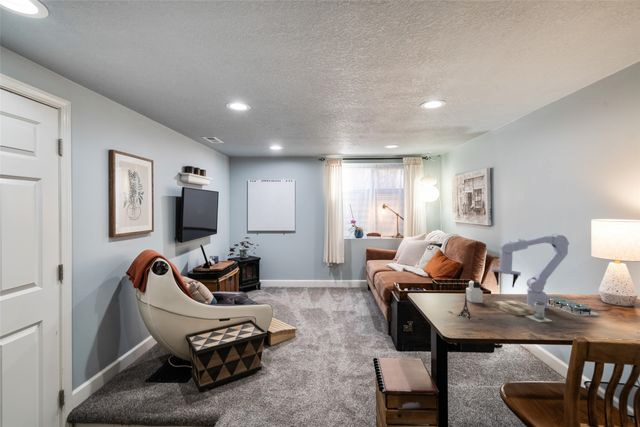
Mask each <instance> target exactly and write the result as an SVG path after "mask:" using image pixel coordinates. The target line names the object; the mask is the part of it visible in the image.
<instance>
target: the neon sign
mask: <svg viewBox="0 0 640 427" xmlns="http://www.w3.org/2000/svg"><path fill="white" fill-rule="evenodd" d="M551 301H553V303H554V304H553V305H551V304H550V303H551ZM555 303H556V305H558V304H561V305H558V307H554V305H555ZM564 304H565V305H564ZM566 304H567V305H566ZM551 306H552V307H553V308H555V309H557V308H558V310H562V311H564V312H565V313H569V314H571V315H572V314H573V315H575V316H582V317H587V316H588V317H589V316H599V315H600V314H599V311H600V312H601V311H604V312H605V311H607V310H608V311H609V310H611V308H609V309H608V308H607V309H601V310H600V309H597V311H598V312H596V311H595V309H594V308H593V309H592V306H589V305H586V304H582V303H578V302H577V301H573V302H572V300H567V299H566V298H564V299H563V298H562V297H550V298H548V302H547V307H551ZM552 307H551V308H552ZM591 310H592V311H591Z"/></svg>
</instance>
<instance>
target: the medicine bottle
mask: <svg viewBox="0 0 640 427" xmlns="http://www.w3.org/2000/svg"><path fill="white" fill-rule="evenodd" d="M466 293H467V295H466ZM483 295H484V291H483V290H481V282H480V281H477V280H470V281H469V282H468V287H466V288H465V296H466V297H467V302H469V303H477V304H479V303H480V304H482V303H483V299H484V298H483Z"/></svg>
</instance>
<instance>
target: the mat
mask: <svg viewBox="0 0 640 427" xmlns="http://www.w3.org/2000/svg"><path fill="white" fill-rule="evenodd" d="M524 317H525V318H527V319H529V320H530V319H531V320H532V321H535V322H537V323H548V322H553V320H552V319H549V318H547V317H544V320H540V319H536V318H534V314H533V315H524Z"/></svg>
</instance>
